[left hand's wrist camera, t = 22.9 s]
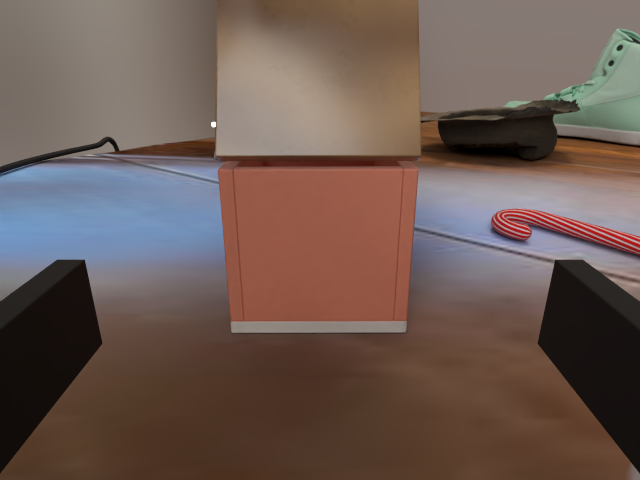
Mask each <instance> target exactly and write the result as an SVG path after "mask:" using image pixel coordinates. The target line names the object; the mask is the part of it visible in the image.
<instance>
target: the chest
mask: <svg viewBox="0 0 640 480" xmlns="http://www.w3.org/2000/svg"><path fill="white" fill-rule="evenodd" d="M218 177H219V188H220V200H221V212H222V223H223V235H224V247H225V258H226V270H227V281H228V293H229V305H230V316H231V333H385V332H406V329H407V320H406V319H407V310H408V297H409V284H410V272H411V259H412V246H413V234H414V221H415V208H416V195H417V183H418V169H417V168H416V167H415V166H414V165H413V164H412V163H411V162H410V161H227V162H226V163H225V164H224V165H223V166H222V167H221V168H220V169H219V170H218Z"/></svg>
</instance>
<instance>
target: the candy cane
mask: <svg viewBox="0 0 640 480" xmlns="http://www.w3.org/2000/svg"><path fill="white" fill-rule="evenodd" d="M491 224H492V226H493V228H494V229H495V230H496V231H497V232H499V233H500V234H502V235H505V236H507V237H511V238H514V239H518V240H527V239H528V238H530V236H531V234H532V231H531V228H530V227H529V226H528V225H526V224H530V225H535V226H539V227H543V228H546V229H550V230H553V231H557V232H560V233H564V234H567V235H571V236H574V237H578V238H581V239H585V240H588V241H592V242H595V243H599V244H602V245H606V246H609V247H613V248H616V249H620V250H623V251H627V252H630V253H634V254H637V255H640V237H639V236H635V235H631V234H627V233H623V232H620V231H616V230H612V229H608V228H604V227H600V226H596V225H592V224H588V223H584V222H580V221H577V220H573V219H569V218H565V217H561V216H557V215H553V214H549V213H545V212H541V211H536V210H529V209H507V210H502V211H499V212H497V213H496V214H494V215H493V217H492V219H491Z"/></svg>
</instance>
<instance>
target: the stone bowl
mask: <svg viewBox="0 0 640 480" xmlns="http://www.w3.org/2000/svg"><path fill="white" fill-rule="evenodd" d="M579 110H580V107H578V103H577V104H576V99H575V100H573V101H572V102H570V101H563V99H561V100H560V101H559V100H557V99H554V100H541V101H532V102H530V103H527V104H521V105H519V106H517V107H498V108H483V109H473V110H462V111H450V112H445V113H436V114H432V115H429V116H424V117H421V121H434V120H438V129H439V134H440V137H441V139H442V141H443V142H444V144H445V146H446V147H447V148H448V149H451V148H452V147H455V148H478V147H484V148H487V147H489V146H491V145H494V144H495V145H496V146H500V147H505V148H506V149H507V150H508V151H513V152H514V153H515V154H519V155H520V156H521V158H525V159H529V160H535V159H539V158H541V157H544V156H545V155H547V154H550V153H552V151H553V150H554V148H555V146H556V142H557V129H556V127H555V125H554V122H553V117H554V115H555V114H563V113H570V112H577V111H579Z"/></svg>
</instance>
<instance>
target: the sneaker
mask: <svg viewBox="0 0 640 480" xmlns="http://www.w3.org/2000/svg"><path fill="white" fill-rule="evenodd" d="M554 99H557V100H559V101H560V100H561V99H563V101H570V102H572V101H573V100H575V99H576V104H577V103H578V107H580V110H579V111H577V112H570V113H563V114H555V115H554V117H553V122H554V125H555V127H556V129H557V135H561V136H572V137H581V138H588V139H595V140H601V141H607V142H614V143H620V144H627V145H636V146H640V36H639V35H638V34H636V33H634V32H632V31H629V30H625V29H617V30H616V31H615V33H614V34H613V35H612V37H611V38H610V40H609V42H608V44H607V46H606V47H605V49H604V51H603V52H602V54H601V56H600V58H599V60H598V61H597V63H596V65H595V67H594V70H593V71H592V74H591V76H590V78H589V81H587V82H585V83H583V84H582V85H575V86H571V87H569V88H566V89H564V90H562V91H561V92H560V93H554V94H551V95H548V96H546V97H545V98H544V100H554ZM527 103H530V102H529V101H511V102H509V103H507V104H506V105H505V106H503V107H517V106H519V105H521V104H527Z"/></svg>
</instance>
